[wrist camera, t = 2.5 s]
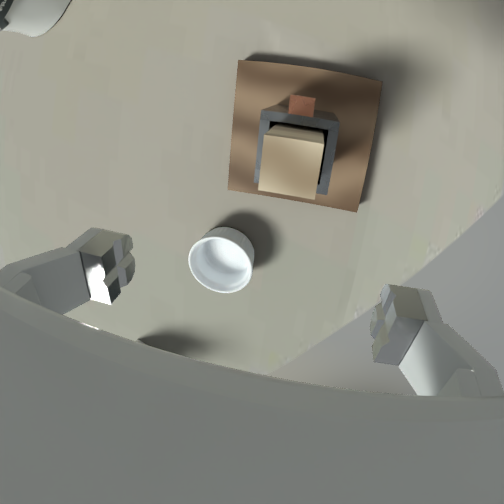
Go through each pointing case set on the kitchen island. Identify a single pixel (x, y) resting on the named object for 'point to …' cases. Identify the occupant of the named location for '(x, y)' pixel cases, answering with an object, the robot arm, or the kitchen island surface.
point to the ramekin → (222, 260)
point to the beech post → (291, 160)
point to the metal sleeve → (305, 115)
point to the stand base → (327, 99)
